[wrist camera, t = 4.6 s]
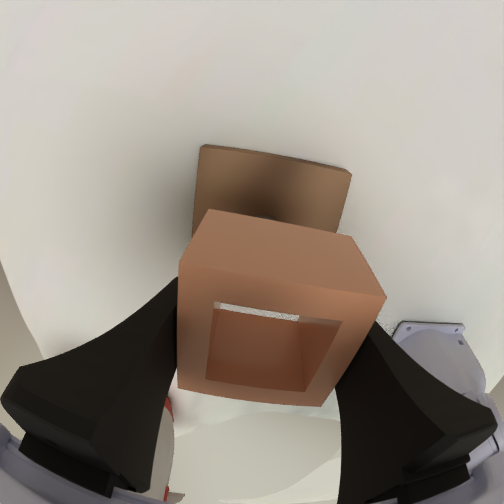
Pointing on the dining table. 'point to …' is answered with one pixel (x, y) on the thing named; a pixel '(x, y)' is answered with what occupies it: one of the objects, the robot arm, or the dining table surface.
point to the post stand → (269, 187)
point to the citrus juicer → (163, 460)
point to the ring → (271, 309)
